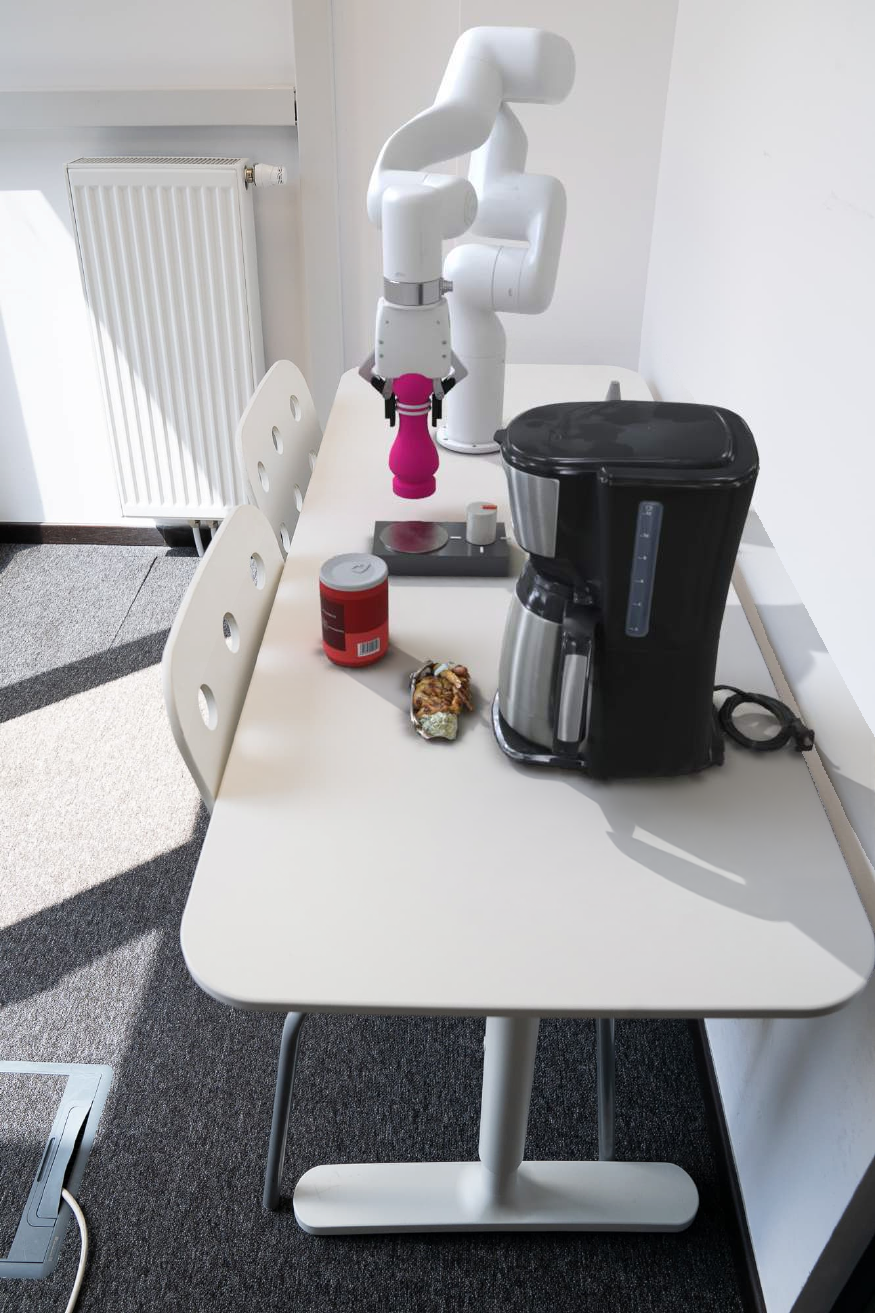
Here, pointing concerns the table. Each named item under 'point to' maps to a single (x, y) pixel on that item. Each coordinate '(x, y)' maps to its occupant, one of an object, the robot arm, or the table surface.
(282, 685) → the table surface
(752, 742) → the coffee maker
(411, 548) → the burner plate
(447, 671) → the foil-wrapped kebab
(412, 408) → the pepper mill
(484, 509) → the hob knob
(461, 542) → the hot plate
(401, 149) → the robot arm
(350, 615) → the canned food
